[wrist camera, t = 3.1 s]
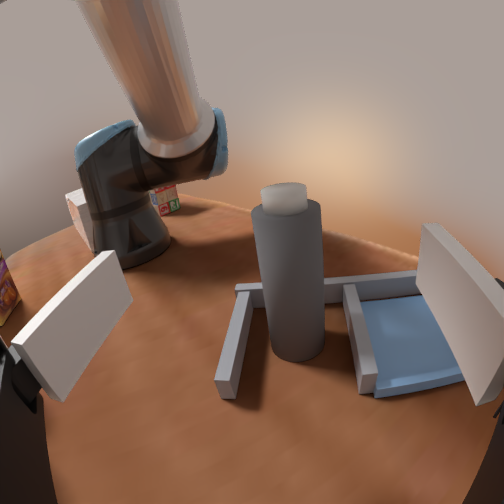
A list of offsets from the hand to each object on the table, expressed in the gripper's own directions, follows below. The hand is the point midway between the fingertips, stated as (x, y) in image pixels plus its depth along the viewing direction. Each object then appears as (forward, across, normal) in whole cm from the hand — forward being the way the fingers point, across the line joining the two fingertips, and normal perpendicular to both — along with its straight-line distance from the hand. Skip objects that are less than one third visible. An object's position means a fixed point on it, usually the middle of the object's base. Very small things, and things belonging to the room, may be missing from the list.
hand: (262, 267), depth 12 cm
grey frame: (+10, +6, -14) cm, 18 cm away
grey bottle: (+10, +1, -14) cm, 17 cm away
